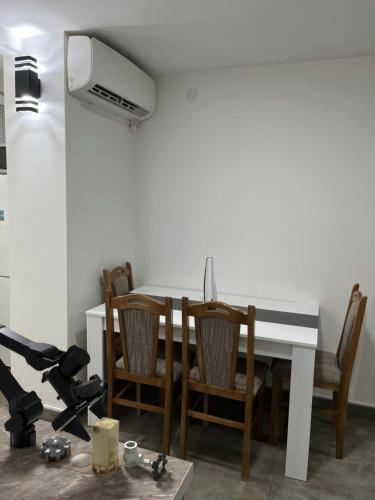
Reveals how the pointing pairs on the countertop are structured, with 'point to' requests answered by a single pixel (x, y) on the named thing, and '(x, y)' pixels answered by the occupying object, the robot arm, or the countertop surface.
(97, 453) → the gold tall block
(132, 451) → the valve
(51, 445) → the sun gear
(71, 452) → the carrier board
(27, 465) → the countertop surface
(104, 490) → the countertop surface
